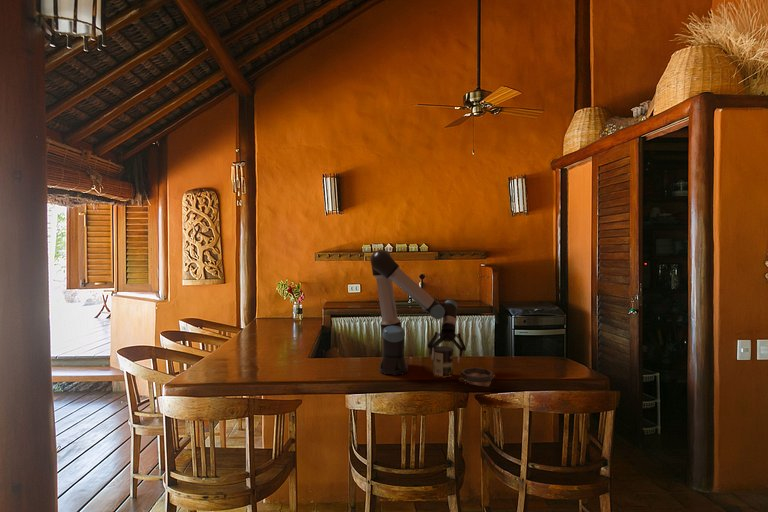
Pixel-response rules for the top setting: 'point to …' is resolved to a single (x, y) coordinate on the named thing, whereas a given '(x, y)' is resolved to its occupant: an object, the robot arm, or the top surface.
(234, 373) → the top surface
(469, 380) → the collar board
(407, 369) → the robot arm
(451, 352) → the coffee can
